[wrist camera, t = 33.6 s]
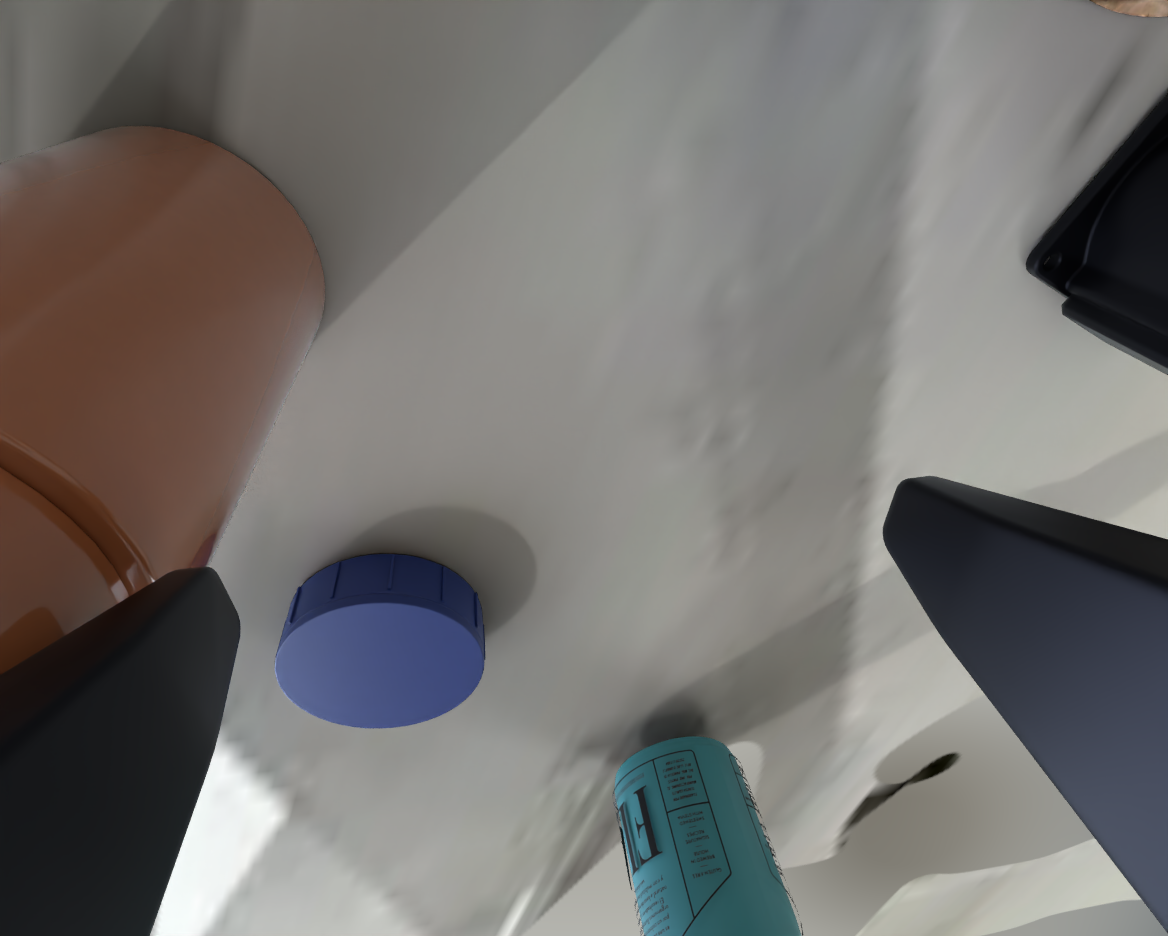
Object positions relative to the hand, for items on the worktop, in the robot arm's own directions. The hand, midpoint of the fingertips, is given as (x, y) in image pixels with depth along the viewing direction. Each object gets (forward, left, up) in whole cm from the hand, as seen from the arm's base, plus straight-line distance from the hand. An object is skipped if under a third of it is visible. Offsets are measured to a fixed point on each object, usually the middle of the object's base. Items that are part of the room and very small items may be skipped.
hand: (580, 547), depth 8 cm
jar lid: (+15, +1, -9) cm, 17 cm away
